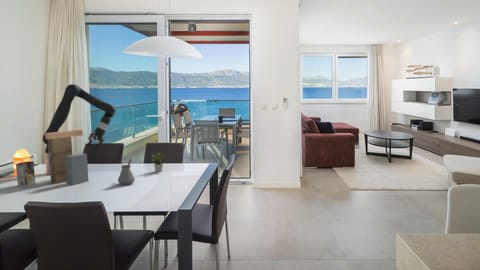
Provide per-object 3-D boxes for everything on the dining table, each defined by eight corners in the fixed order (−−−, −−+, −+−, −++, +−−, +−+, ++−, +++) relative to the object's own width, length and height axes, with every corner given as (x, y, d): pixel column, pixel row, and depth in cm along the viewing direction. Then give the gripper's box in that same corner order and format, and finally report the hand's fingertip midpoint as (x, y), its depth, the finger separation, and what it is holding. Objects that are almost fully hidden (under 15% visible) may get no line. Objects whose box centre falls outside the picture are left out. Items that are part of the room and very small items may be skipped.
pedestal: (67, 183, 243) (65, 156, 240) (82, 180, 253) (80, 153, 251) (73, 185, 239) (71, 156, 237) (88, 181, 250) (86, 154, 247)
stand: (51, 182, 246) (47, 138, 242) (69, 178, 258) (66, 136, 254) (55, 183, 243) (52, 139, 239) (74, 179, 255) (71, 136, 251)
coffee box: (28, 183, 246) (26, 161, 244) (35, 183, 244) (33, 161, 242) (17, 186, 237) (15, 163, 235) (25, 187, 235) (23, 164, 233)
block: (45, 139, 240) (45, 133, 240) (79, 135, 262) (79, 129, 262) (48, 139, 238) (48, 133, 238) (82, 135, 260) (82, 130, 260)
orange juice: (31, 173, 276) (29, 148, 274) (23, 176, 267) (21, 150, 265) (22, 173, 277) (20, 148, 275) (14, 175, 269) (12, 150, 266)
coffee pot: (132, 185, 237) (131, 164, 235) (115, 186, 236) (114, 164, 234) (139, 178, 258) (138, 158, 256) (124, 178, 257) (123, 158, 255)
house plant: (156, 174, 268) (155, 154, 266) (145, 172, 276) (144, 152, 274) (170, 171, 279) (169, 151, 278) (159, 169, 288) (158, 149, 286)
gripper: (92, 124, 274) (82, 143, 271) (103, 129, 267) (94, 148, 264) (99, 127, 280) (90, 146, 277) (110, 132, 273) (101, 151, 271)
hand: (92, 147), depth 271 cm, fingers open, 8 cm apart
